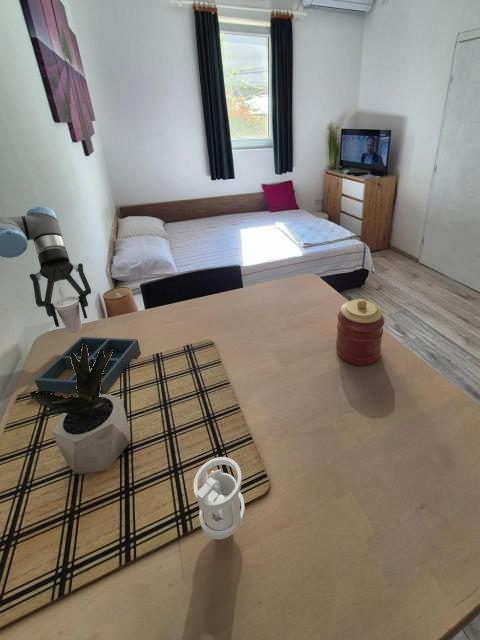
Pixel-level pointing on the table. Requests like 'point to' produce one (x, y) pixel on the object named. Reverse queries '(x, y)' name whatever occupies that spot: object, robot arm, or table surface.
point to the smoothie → (69, 312)
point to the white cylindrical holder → (219, 499)
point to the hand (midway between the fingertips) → (71, 321)
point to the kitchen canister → (359, 332)
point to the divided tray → (90, 363)
